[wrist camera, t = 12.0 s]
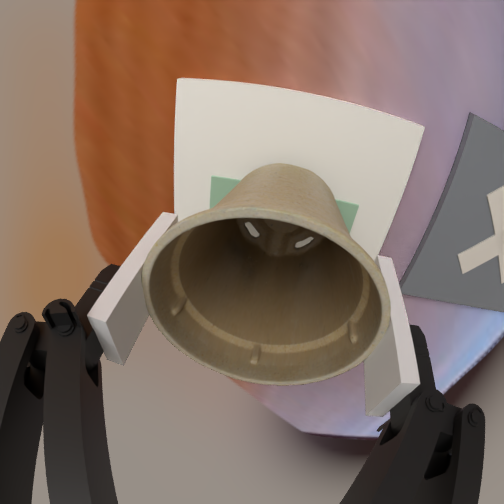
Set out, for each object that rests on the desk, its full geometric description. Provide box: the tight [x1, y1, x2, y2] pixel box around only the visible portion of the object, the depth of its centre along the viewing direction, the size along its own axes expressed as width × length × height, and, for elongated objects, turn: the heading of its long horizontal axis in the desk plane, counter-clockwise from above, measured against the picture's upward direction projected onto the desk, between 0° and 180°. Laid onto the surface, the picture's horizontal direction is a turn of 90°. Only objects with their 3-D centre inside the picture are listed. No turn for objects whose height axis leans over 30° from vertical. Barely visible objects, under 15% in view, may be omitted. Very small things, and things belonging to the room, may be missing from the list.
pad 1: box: [174, 78, 425, 261], centre depth 18 cm, size 14×14×1 cm
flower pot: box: [141, 163, 391, 386], centre depth 14 cm, size 9×9×9 cm
